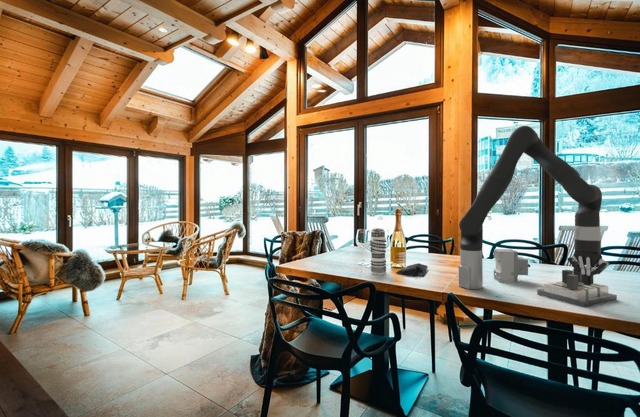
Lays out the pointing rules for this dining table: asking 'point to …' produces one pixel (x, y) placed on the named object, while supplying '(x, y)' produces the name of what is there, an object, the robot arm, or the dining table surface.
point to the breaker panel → (581, 301)
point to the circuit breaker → (509, 265)
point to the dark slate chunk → (413, 270)
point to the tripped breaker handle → (572, 281)
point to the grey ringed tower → (378, 251)
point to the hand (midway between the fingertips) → (587, 284)
